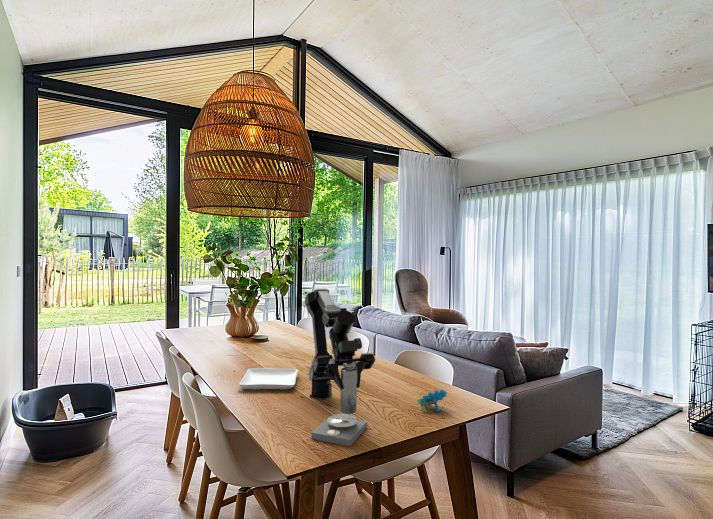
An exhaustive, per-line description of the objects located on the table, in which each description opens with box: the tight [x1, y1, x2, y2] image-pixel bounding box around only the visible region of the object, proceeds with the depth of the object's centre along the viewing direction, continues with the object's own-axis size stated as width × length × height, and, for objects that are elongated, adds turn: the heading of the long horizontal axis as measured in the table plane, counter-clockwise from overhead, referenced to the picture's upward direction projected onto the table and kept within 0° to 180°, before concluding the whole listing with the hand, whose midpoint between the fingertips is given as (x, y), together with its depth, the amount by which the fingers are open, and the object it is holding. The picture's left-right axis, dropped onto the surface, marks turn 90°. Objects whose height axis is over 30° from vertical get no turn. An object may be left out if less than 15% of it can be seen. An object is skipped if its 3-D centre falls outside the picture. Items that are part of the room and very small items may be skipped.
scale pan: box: [326, 413, 358, 428], centre depth 130 cm, size 9×9×1 cm
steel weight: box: [339, 361, 358, 415], centre depth 131 cm, size 5×5×14 cm
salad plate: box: [238, 367, 299, 390], centre depth 174 cm, size 21×21×3 cm
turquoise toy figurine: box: [416, 389, 447, 413], centre depth 149 cm, size 11×6×10 cm
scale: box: [310, 414, 368, 447], centre depth 129 cm, size 12×14×2 cm
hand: (350, 388), depth 129 cm, fingers closed on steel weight, 5 cm apart
